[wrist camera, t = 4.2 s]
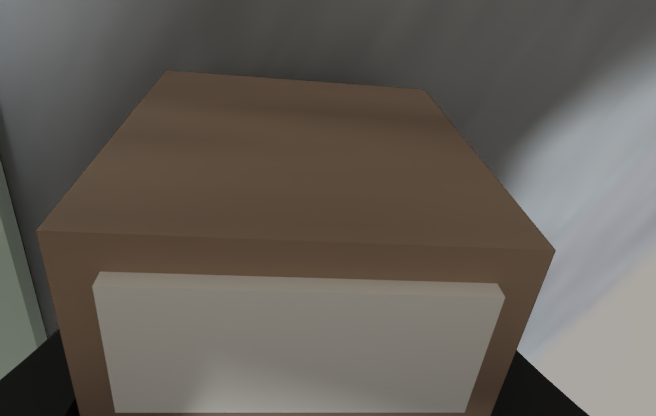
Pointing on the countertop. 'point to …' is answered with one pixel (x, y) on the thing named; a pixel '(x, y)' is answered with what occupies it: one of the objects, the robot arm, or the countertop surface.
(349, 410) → the labeled brown box
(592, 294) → the countertop surface
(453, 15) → the countertop surface
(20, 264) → the sage mat
